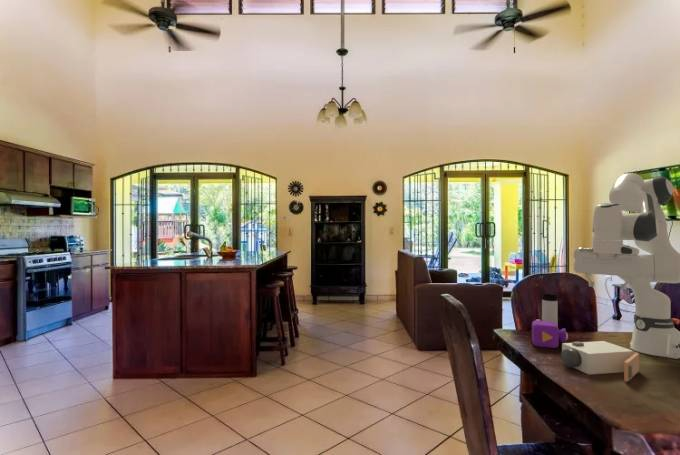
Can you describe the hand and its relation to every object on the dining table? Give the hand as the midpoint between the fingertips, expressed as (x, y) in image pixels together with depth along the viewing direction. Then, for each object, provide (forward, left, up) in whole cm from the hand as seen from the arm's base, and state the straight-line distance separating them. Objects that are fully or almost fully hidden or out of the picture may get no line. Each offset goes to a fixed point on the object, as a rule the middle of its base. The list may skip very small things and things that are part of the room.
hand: (607, 287), depth 135 cm
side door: (-2, +8, -28) cm, 29 cm away
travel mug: (-9, -40, -29) cm, 50 cm away
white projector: (+3, -3, -29) cm, 29 cm away
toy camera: (+1, -28, -29) cm, 40 cm away
